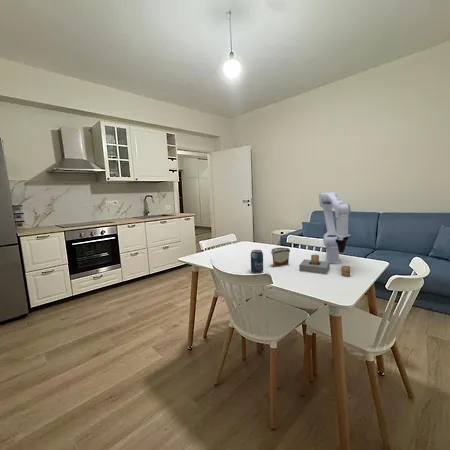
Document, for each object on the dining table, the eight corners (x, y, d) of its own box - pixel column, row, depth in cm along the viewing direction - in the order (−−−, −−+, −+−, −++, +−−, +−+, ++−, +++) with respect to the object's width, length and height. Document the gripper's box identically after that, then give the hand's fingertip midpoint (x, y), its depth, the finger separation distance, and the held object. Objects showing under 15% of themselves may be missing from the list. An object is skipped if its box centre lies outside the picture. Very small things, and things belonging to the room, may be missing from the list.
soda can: (256, 274, 134) (256, 253, 132) (248, 271, 139) (247, 250, 138) (266, 271, 138) (265, 250, 136) (257, 268, 143) (256, 248, 142)
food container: (284, 262, 154) (284, 246, 153) (290, 264, 149) (290, 248, 147) (267, 264, 150) (267, 248, 149) (272, 267, 144) (272, 251, 143)
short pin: (341, 273, 129) (341, 265, 129) (350, 274, 127) (350, 266, 127) (341, 276, 126) (341, 267, 125) (349, 277, 124) (350, 268, 123)
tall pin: (311, 268, 140) (311, 254, 139) (319, 268, 139) (319, 255, 138) (310, 270, 137) (310, 256, 136) (318, 270, 135) (318, 256, 134)
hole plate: (304, 265, 147) (304, 259, 146) (329, 267, 139) (329, 261, 139) (299, 270, 136) (299, 264, 136) (326, 274, 129) (326, 267, 129)
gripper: (349, 228, 125) (349, 254, 126) (351, 225, 137) (350, 248, 139) (334, 228, 128) (334, 253, 130) (337, 224, 141) (337, 247, 142)
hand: (341, 251), depth 135 cm, fingers open, 7 cm apart
